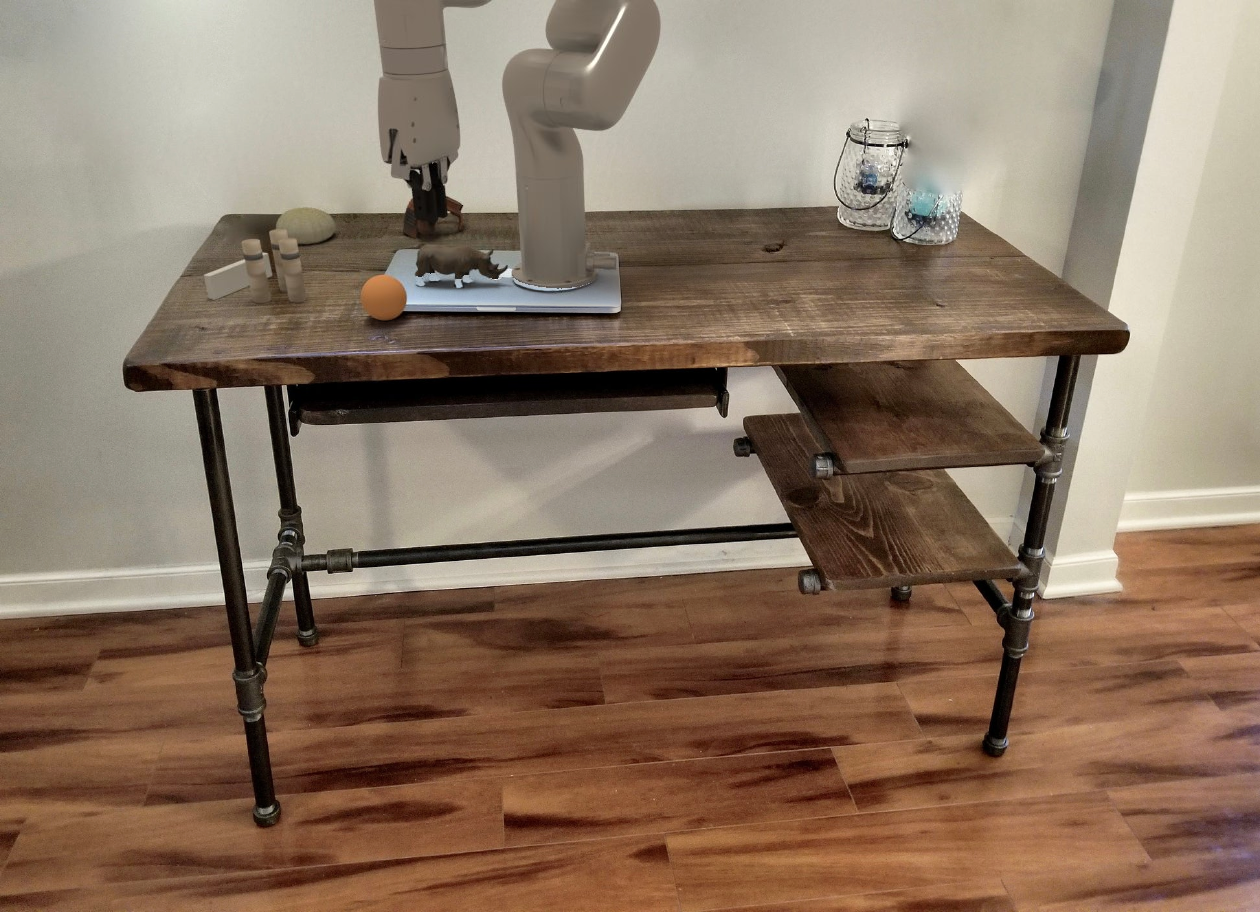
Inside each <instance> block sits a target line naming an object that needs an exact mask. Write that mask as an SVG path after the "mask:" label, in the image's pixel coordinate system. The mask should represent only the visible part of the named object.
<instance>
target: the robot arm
mask: <svg viewBox="0 0 1260 912" xmlns="http://www.w3.org/2000/svg"><path fill="white" fill-rule="evenodd" d="M491 1H492V0H373V5H374V12H375V13H374V14H375V21H376V30H377V39H378V44H379V55H380V62H381V69H382V71H381V72H382V76H380V77H379V79H378V88H377V89H378V90H377V92H378V93H377V121H378V123H377V124H378V136H379V147H380V154H381V159H382V162H384V163H385V164H388V165H391V167H390V176H391V177H392V178H393V179H400V180H404V182H405V183H406V185H407V187H408V189H411V196H412V197H411V198H413V206H414V214H415V218H416V219H417V220H422V221H428V222H436V221H437V222H438V220H439V218H440V219H445V218H447V217H448V216H449V214H448V212H449V211H447V201H446V196H447V193H446V184H447V183H448V180H449V178H448V177H449V175H448V172H449V170H450V167H451V165H452V164H453V163H454V162H455V161H456V160H457V159H458V157H459V149H460V147H461V129H460V128H461V127H460V119H459V111H458V110H459V109H458V105H457V100H456V93H455V88H454V85H453V79H452V77H451V75H452V74H451V72H450V69H449V63H448V51H447V43H446V42H447V40H446V39H447V38H446V30H445V18H444V17H445V16H444V9H445V8H463V9H464V8H465V9H475V8H481V7H482V6H485V5H487V4H489V3H490V2H491ZM661 24H662V23H661V15H660V10H659V8H658V5H657V4H656V1H655V0H555V1H554V3H553V4H552V7H551V9H550V11H549V14H548V16H547V19H546V24H545V37H546V40H547V42H548V45H549V46H550V48H541V47H540V48H537V47H536V48H530V49H525V50H522V51H519V52H517V53H515V55H514V56H513V57H511V58H510V59H509V61H508V63H506V66H505V67H504V71H503V75H502V81H501V82H502V83H501V88H502V90H501V91H502V97H503V101H504V106H505V110H506V113H507V116H508V120H509V124H510V125H509V127H510V131H511V136H512V143H513V153H514V169H515V184H516V196H517V197H516V198H517V201H516V202H517V215H518V217H517V218H518V229H519V245H520V247H519V248H520V260H521V262H519V263H518V264H517V265H515V266H514V267H513V268H512V270H511V277H512V276H513V278H515V279H516V280H518V281H519V282H522V283H525V284H528V285H534V286H538V287H546V288H557V289H559V288H561V289H562V288H572V287H580V286H582V285H586V284H588V283H590V284H592V283H593V282H595V280H597V278H598V274H599V273H598V269H601V270H602V269H603V270H609V271H610V270H612V271H613V270H614V271H615V270H617V256H616V255H614V256H613V255H611V252H595V250H591V242H587V237H586V236H587V235H586V231H587V230H586V207H585V204H586V203H585V178H584V177H585V176H584V175H585V174H584V172H585V170H584V168H585V167H584V156H583V150H582V147H581V144H580V141H579V138H578V136H577V134H576V132H575V130H574V129H576V130H583V131H584V130H585V131H593V132H602V131H606V130H609V129H611V128H613V127H614V126H615V125H617V123H619V121H620V120H621V119H622V118H623V116H624V115H625V113H626V111H627V109H628V107H629V105H630V104H631V102H632V99H633V97H634V96H635V94H636V92H637V90H638V88H639V86H640V84H641V82H642V81H643V78H644V76H645V74H646V72H647V71H648V69H649V67H650V65H651V63H652V60H653V59H654V57H655V54H656V52H657V50H658V49H657V48H658V46H659V41H660V38H661V37H660V36H661V27H662V26H661ZM437 222H436V223H437ZM591 282H592V283H591ZM588 285H589V284H588ZM586 286H587V285H586ZM580 288H581V287H580Z"/></svg>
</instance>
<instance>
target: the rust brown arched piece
mask: <svg viewBox="0 0 1260 912" xmlns="http://www.w3.org/2000/svg"><path fill="white" fill-rule="evenodd" d="M446 201H447V211H448V212H449V213H450V214H451V215H452V216H454V217H457V218H458V225H457V230H458V231H461V230H462V226H463V223H464V221H463V219H464V218H463V214H462V210H463V207H464V204H462V202H460V201H458V200H455V199H454V198H452V197H450V196H448V195H446ZM403 217H404V218H403V225H402V227H403V228H402V232H403V233H404V234H406V235H407V236H409V237H411V238H414V239H417V238H418V232H419V233H420V234H421V235H423V236H430V235H433V234H434V231H435V228H436V223H437V222H438V221H436V222H428V221H422V220H417V219H416V218H415V214H414V206H413V197H411V199H410V200H409V201H408V204H407V206H406V208H405V212H404V216H403Z"/></svg>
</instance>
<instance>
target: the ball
mask: <svg viewBox="0 0 1260 912" xmlns="http://www.w3.org/2000/svg"><path fill="white" fill-rule="evenodd" d="M407 302H408V296H407V291H406V289H405V286H404V285H403V284H402V283H401V281H400V280H398V279H397V278H396V277H394V276H391V275H387V274H379V275H375V276H372V277H370V278H369V279H368V280H367V281H366V282H365V283H364V285H363V286H362V289H361V292H360V303H361V306H362V308H363V309H364V311H365V312H366V314H368V315H369V316H370V317H371V318H374V319H375V320H379V321H391V320H393V319H396V318H397V317H399V316H400V315H401V314H402V313H403V311H404V310H405V308H406V306H407Z"/></svg>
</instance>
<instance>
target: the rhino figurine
mask: <svg viewBox="0 0 1260 912" xmlns="http://www.w3.org/2000/svg"><path fill="white" fill-rule="evenodd" d="M494 250H495V249H494V248H492V249H490V250H489V251H488V252H486V253H485V252H483V251H481V250H480V249H477V248H476V247H472V246H470V245H459V246H456V247H447V246H443V245H439V244H424V245H422V247H420V248H419V249H418V251H417V254H416V255H417V257H416V262H415V266H416V267H417V270H416V271H415V273H414V275H415V277H416V276H418V277H422V276H423V277H424V276H425V275H426V274H427V273H430V274H431V273H439V274H441V275H444V276H448V275H449V276H450V275H453V274H454V280H455V279H462V280H463V276H464V275H469V276H470V273H471V272H472V271H473V270H474V271H478V272H479V274H480V275H481V276H484V277H485V278H488V279H490V278H492V279H498V278H500V276H501V275H502V274H504V273H505V272H506V271H507V270H508V268H509V265H508V264H506V265H505V266H504V267H502V268H499V266H500V263H496V264H494V263H493V262H492V261H491V259H492V257H491V256H492V255H493V254H494ZM492 279H491V280H492ZM498 280H499V279H498Z"/></svg>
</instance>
